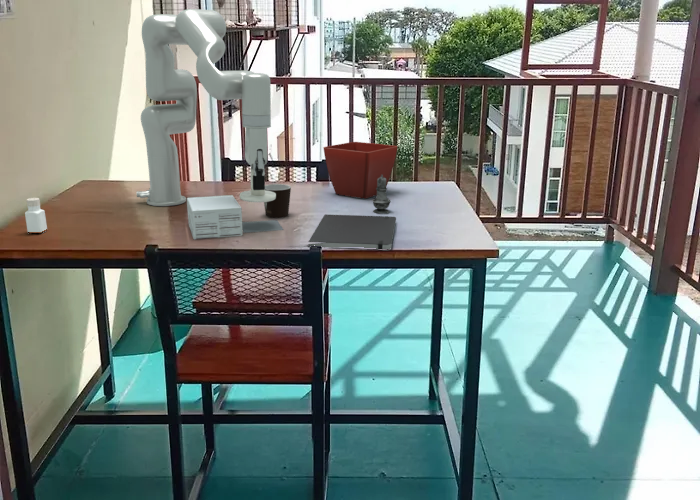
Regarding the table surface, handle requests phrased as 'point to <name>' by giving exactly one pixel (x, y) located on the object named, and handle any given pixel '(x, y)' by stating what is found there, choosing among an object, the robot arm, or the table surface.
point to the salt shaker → (35, 216)
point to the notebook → (354, 231)
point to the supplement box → (214, 217)
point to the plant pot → (359, 167)
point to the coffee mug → (278, 201)
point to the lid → (257, 193)
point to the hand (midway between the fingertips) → (257, 187)
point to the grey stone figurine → (381, 197)
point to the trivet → (261, 226)
